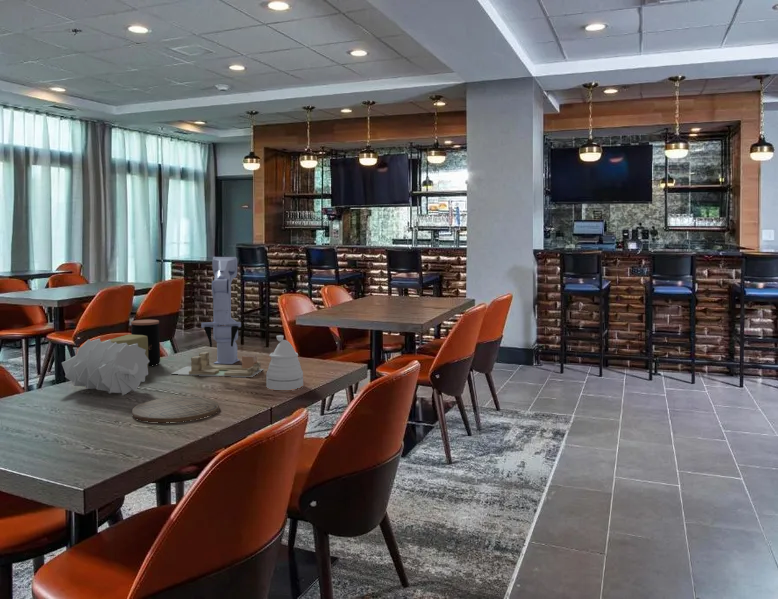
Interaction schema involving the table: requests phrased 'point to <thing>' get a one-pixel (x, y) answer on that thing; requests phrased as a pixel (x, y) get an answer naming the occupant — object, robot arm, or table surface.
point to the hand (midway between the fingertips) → (221, 346)
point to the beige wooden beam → (222, 367)
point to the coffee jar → (149, 337)
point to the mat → (221, 373)
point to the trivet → (175, 409)
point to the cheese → (133, 341)
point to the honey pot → (284, 368)
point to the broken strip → (197, 369)
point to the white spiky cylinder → (107, 366)
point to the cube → (249, 361)
